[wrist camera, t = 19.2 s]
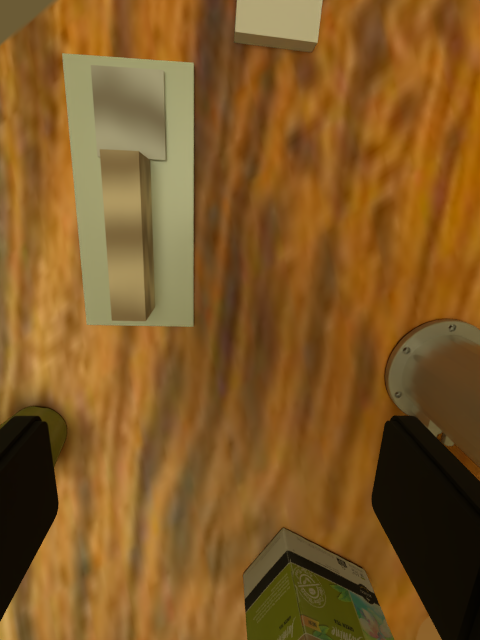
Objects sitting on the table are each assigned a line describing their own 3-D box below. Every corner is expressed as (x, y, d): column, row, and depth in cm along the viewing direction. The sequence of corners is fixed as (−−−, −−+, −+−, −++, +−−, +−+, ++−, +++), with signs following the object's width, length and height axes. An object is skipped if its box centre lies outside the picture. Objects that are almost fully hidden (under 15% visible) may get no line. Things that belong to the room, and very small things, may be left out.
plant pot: (100, 434, 41) (71, 489, 33) (40, 476, 42) (-2, 539, 34) (41, 376, 39) (-7, 421, 30) (-20, 423, 40) (-83, 477, 32)
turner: (169, 307, 36) (162, 321, 32) (110, 306, 36) (94, 320, 31) (164, 73, 30) (155, 47, 26) (93, 68, 30) (70, 41, 25)
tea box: (366, 565, 50) (424, 703, 36) (323, 609, 52) (363, 757, 38) (281, 523, 47) (310, 657, 33) (240, 572, 49) (249, 718, 35)
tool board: (193, 324, 38) (193, 326, 37) (89, 322, 37) (86, 324, 36) (194, 66, 31) (193, 62, 30) (66, 57, 30) (62, 53, 30)
